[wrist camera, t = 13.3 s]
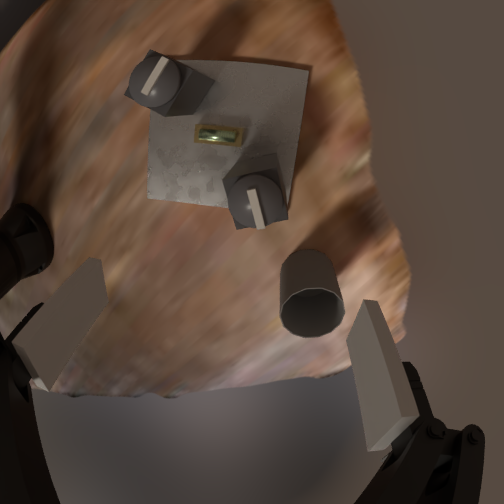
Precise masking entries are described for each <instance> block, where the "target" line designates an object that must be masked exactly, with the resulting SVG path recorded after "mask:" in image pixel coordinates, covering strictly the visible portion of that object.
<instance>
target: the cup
mask: <svg viewBox="0 0 504 504" xmlns="http://www.w3.org/2000/svg"><path fill="white" fill-rule="evenodd" d="M344 314H345V309H344V303H343V299H342V295H341V292H340V288H339V285H338V281H337V278H336V274H335V271H334V268H333V264H332V262H331V260H330V259H329V258H328V257H327V256H326V255H325V254H324V253H321V252H319V251H316V250H314V249H309V250H300V251H297V252H295V253H293V254H291V255H289V257H288V258H287V259H286V260H285V261H284V263H283V264H282V268H281V273H280V319H281V322H282V324H283V327H284V328H286V329H287V330H288V331H289V332H290V333H292V334H293V335H296V336H300V337H303V338H314V337H321V336H323V335H326V334H328V333H331V332H332V331H333V330H334V329H335V328H336V327H338V326H339V325H340V324H341V322H342V319H343V317H344Z"/></svg>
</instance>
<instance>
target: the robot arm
mask: <svg viewBox="0 0 504 504" xmlns="http://www.w3.org/2000/svg"><path fill="white" fill-rule="evenodd" d="M52 258H53V243H52V238H51V235H50V232H49V230H48V227H47V225H46V223H45V222H44V220H43V218H42V217H41V216H40V214H39V213H38V212H37V211H36V210H35V209H34V208H32V207H31V206H29V205H27V204H23V203H20V204H17V205H15V206H13V207H12V208H10V209H9V210H8V211H7V212H6V213H5V214H4V215H3V217H2V218H1V219H0V299H1V298H2V297H3V296H4V295H5V294H6V293H7V292H8V291H9V290H10V289H12V288H13V287H14V286H15V285H16V284H17V283H18V282H19V281H20V280H22V279H25V278H27V277H30V276H33V275H36V274H39V273H41V272H42V271H44V270H45V269H46V268H47V267H48V266H49V265H50V263H51V261H52ZM108 303H109V302H108V297H107V292H106V286H105V281H104V275H103V269H102V262H101V259H95V258H90V257H89V258H88V259H87V260H86V261H85V262H84V263H83V264H82V265H81V266H80V267H79V268H78V269H77V270H76V271H75V272H74V273H73V274H72V275H71V276H70V277H69V278H68V279H67V280H66V281H65V282H64V283H63V284H62V285H61V286H60V287H59V288H58V289H57V290H56V292H55V293H54V294H53V295H52V296H51V297H50V298H49V299H48V300H47V301H46V302H45V303H43V302H41V303H40V304H38V305H36V306H35V307H33V308H32V309H31V310H30V312H29V313H28V314H27V316H25V317H24V318H23V319H22V322H20V323H19V324H18V325H17V326H16V328H15V329H14V330H13V331H12V332H11V333H10V335H9V336H8V337H7V338H6V340H4V338H3V336H2V335H1V332H0V504H60V501H59V499H58V496H57V493H56V491H55V488H54V485H53V482H52V479H51V476H50V473H49V470H48V466H47V463H46V459H45V456H44V452H43V448H42V444H41V440H40V436H39V431H38V427H37V422H36V416H35V411H34V405H33V398H32V392H31V386H30V383H29V381H30V379H31V378H32V379H33V381H34V382H35V384H36V385H37V386H38V387H40V388H42V389H44V390H46V391H48V392H49V391H50V390H51V388H52V386H53V385H54V383H55V381H56V380H57V378H58V376H59V375H60V373H61V372H62V370H63V368H64V367H65V365H66V364H67V362H68V361H69V359H70V358H71V356H72V354H73V353H74V351H75V350H76V348H77V347H78V345H79V344H80V342H81V341H82V339H83V338H84V336H85V335H86V334H87V332H88V331H89V329H90V328H91V326H92V325H93V323H94V322H95V321H96V319H97V318H98V316H99V315H100V314H101V312H102V311H103V309H104V308H105V307H106V305H107V304H108ZM346 341H347V346H348V350H349V354H350V359H351V363H352V368H353V373H354V377H355V382H356V387H357V392H358V398H359V403H360V408H361V414H362V420H363V425H364V431H365V437H366V443H367V450H368V451H376V450H384V449H385V448H387V446H389V445H390V444H391V445H392V451H391V452H390V453H389V454H387V455H386V456H385V457H384V458H383V459H382V460H381V461H382V462H383V461H384V460H385V461H384V463H383V464H382V466H381V467H380V469H379V470H378V472H377V473H376V475H375V476H374V477H373V479H372V480H371V482H370V483H369V484H368V486H367V487H366V489H365V490H364V491H363V493H362V494H361V495H360V497H359V498H358V499H357V500H356V502H355V503H354V504H478V502H479V496H480V489H481V482H482V474H483V464H484V449H485V437H484V433H483V431H482V430H481V429H480V428H479V427H478V426H476V425H473V424H471V425H468V426H466V427H465V428H464V429H463V430H462V431H459V430H453V429H447V428H446V426H445V424H444V423H443V422H442V421H440V420H439V419H436V418H434V416H433V414H432V411H431V408H430V405H429V402H428V399H427V396H426V394H425V391H424V389H423V385H422V383H421V382H420V377H419V375H418V372H417V370H416V369H415V367H414V366H413V365H412V364H411V363H410V362H402V361H401V359H400V356H399V353H398V351H397V348H396V346H395V343H394V340H393V338H392V335H391V333H390V330H389V328H388V325H387V323H386V320H385V318H384V316H383V313H382V311H381V308H380V306H379V304H378V301H373V300H364V299H363V302H362V304H361V307H360V309H359V312H358V314H357V317H356V319H355V321H354V324H353V326H352V328H351V331H350V333H349V335H348V337H347V340H346Z"/></svg>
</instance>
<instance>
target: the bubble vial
mask: <svg viewBox="0 0 504 504" xmlns="http://www.w3.org/2000/svg"><path fill="white" fill-rule="evenodd" d="M243 135H244V128H242V127H232V126H222V125H210V124H195V132H194V143H204V144H215V145H225V146H234V147H241V146H242V143H243Z"/></svg>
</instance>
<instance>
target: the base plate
mask: <svg viewBox="0 0 504 504" xmlns="http://www.w3.org/2000/svg"><path fill="white" fill-rule="evenodd" d="M177 61H179V62H182V63H184V64H186V65H188V66H189V67H191V68H193V69H195V70H197V71H199V72H201V73H203V74H205V75H207V76H208V77H210V78H212V79H214V80H215V82H214V83H213V85H212V86H211V88H210V89H209V91H208V92H207V94H206V95H205V97H204V98H203V100H202V101H201V103H200V105H199V106H198V108H197V109H196V111H195V112H194V114H193V115H183V116H171V117H164V116H162V115H160V114H158V113H157V112H155V111H153V110H151V112H150V126H149V145H148V184H147V198H149V199H158V200H167V201H176V202H184V203H193V204H201V205H209V206H216V207H224V208H229V207H228V199H227V195H226V192H225V189H224V185H223V182H222V179H223V178H224V177H225V176H226V174H227V173H228V172H229V171H230V169H231V168H232V167H233V166H234V164H235V163H236V162H240V161H244V160H248V159H252V158H257V157H261V156H266V155H270V154H275V153H277V155H278V159H279V163H280V167H281V172H282V176H283V180H284V185H285V189H286V196H287V206H288V201H289V195H290V189H291V183H292V177H293V171H294V165H295V159H296V153H297V147H298V141H299V135H300V128H301V122H302V115H303V109H304V102H305V95H306V88H307V81H308V74H309V71H307V70H301V69H295V68H289V67H282V66H275V65H267V64H258V63H247V62H235V61H216V60H177ZM195 124H210V125H222V126H232V127H242V128H244V135H243V143H242V146H241V147H234V146H225V145H215V144H204V143H194V132H195Z"/></svg>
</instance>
